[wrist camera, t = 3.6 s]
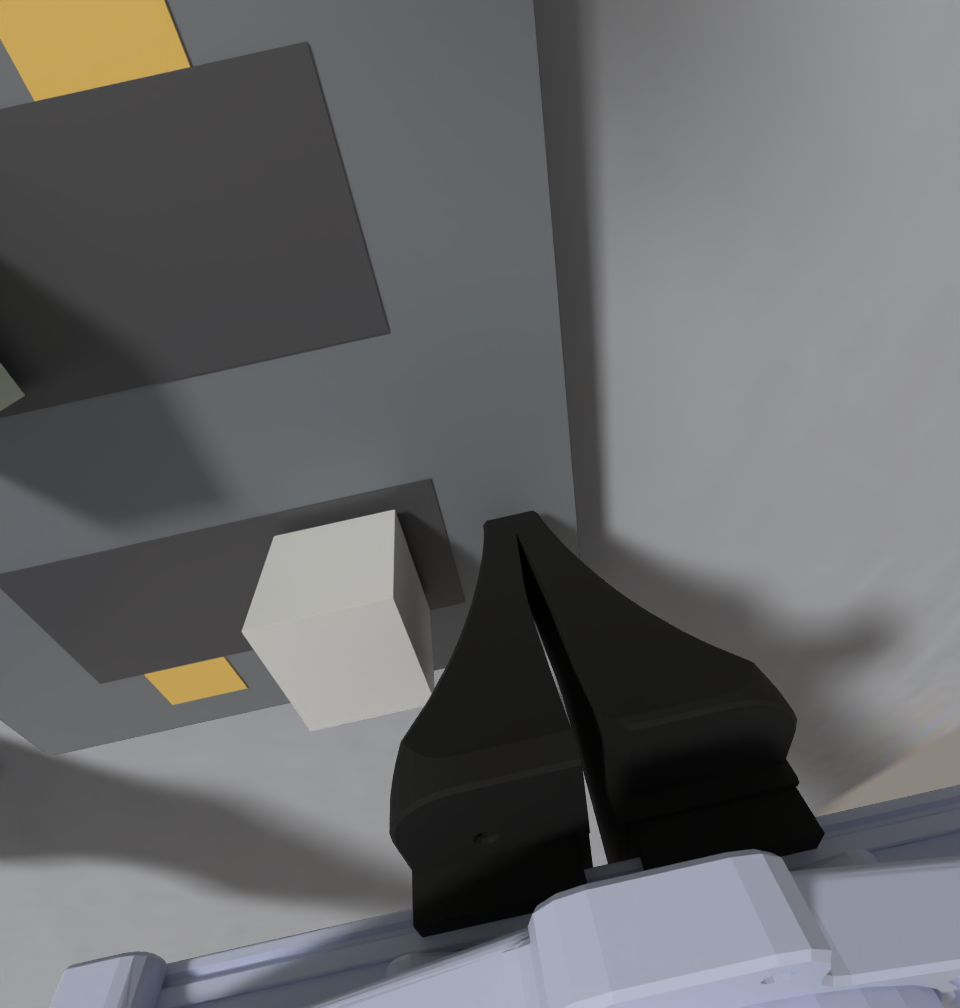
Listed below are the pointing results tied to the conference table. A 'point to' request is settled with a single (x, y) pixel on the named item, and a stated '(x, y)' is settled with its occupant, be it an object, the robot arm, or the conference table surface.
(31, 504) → the switch panel
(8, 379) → the tab sage
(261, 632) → the light grey block
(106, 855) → the conference table surface
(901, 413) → the conference table surface
